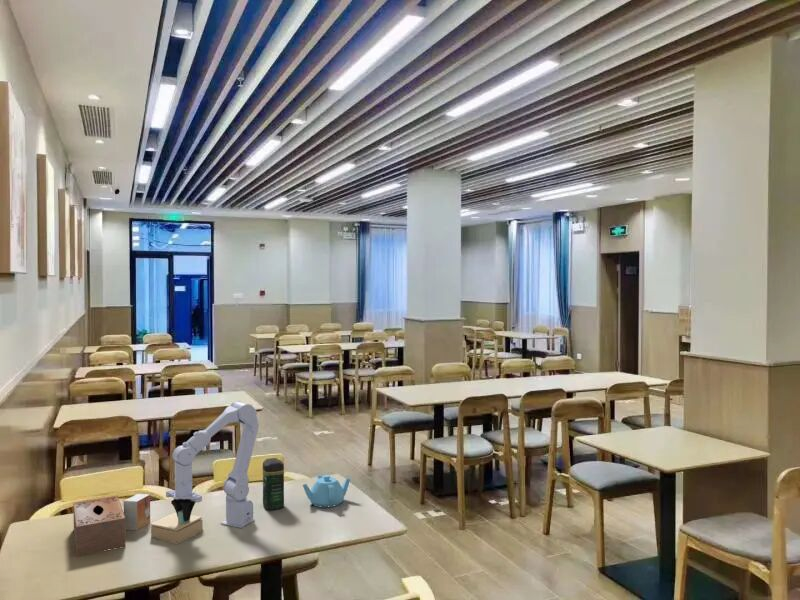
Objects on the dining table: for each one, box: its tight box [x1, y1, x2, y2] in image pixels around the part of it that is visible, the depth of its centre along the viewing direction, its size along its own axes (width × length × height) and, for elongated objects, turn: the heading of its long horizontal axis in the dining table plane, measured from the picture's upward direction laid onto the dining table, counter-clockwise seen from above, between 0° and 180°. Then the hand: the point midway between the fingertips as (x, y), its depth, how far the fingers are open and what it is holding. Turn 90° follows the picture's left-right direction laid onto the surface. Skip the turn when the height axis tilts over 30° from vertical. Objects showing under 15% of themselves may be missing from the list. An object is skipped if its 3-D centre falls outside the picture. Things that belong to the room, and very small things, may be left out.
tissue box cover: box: [72, 495, 127, 558], centre depth 207 cm, size 26×14×10 cm, turn 30°
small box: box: [123, 493, 151, 531], centre depth 217 cm, size 8×6×10 cm
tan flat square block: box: [149, 510, 203, 531], centre depth 210 cm, size 12×12×5 cm
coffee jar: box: [262, 457, 285, 510], centre depth 237 cm, size 10×8×19 cm
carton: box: [150, 518, 204, 545], centre depth 210 cm, size 12×12×4 cm
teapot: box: [302, 474, 351, 508], centre depth 241 cm, size 15×15×11 cm
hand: (184, 519), depth 208 cm, fingers closed on tan flat square block, 2 cm apart
